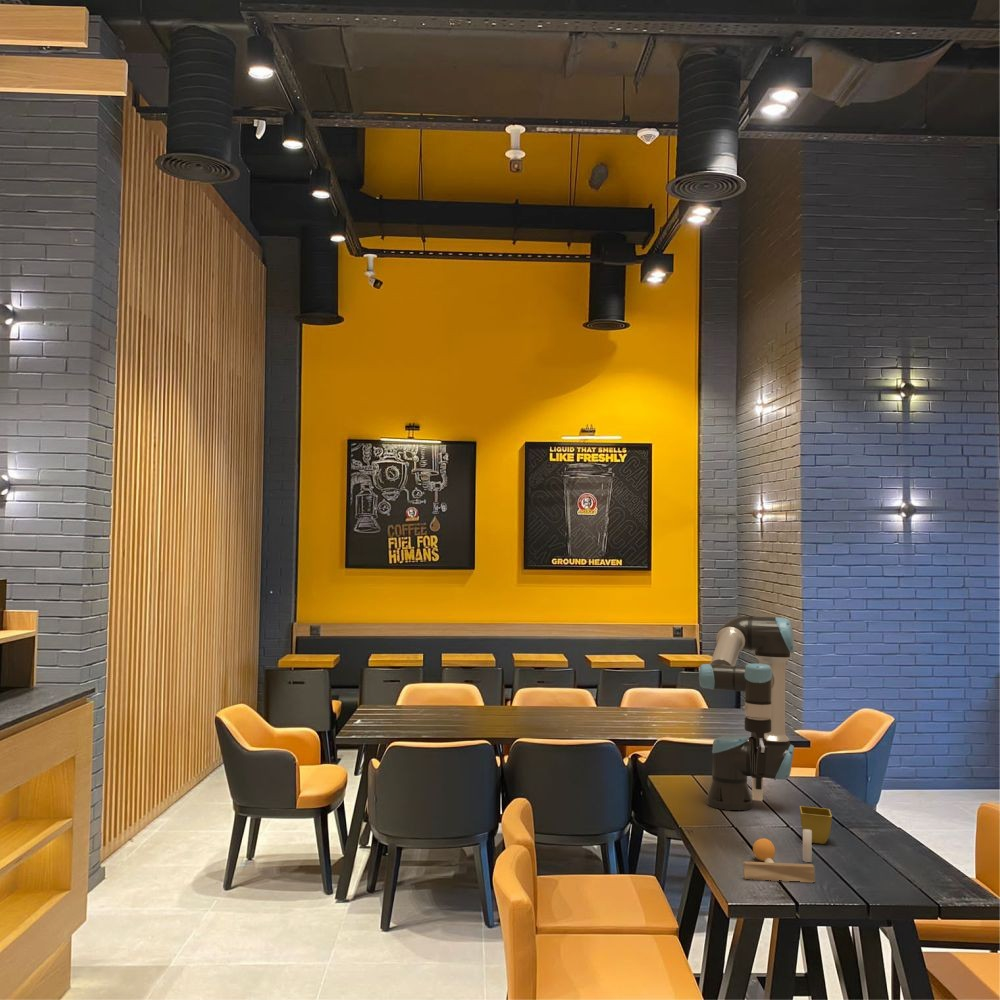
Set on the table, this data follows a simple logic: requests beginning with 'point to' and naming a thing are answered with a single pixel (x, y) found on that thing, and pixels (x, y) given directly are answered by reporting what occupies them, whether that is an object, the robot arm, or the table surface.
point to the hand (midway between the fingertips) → (757, 799)
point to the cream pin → (769, 860)
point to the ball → (763, 849)
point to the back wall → (779, 871)
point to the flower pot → (816, 822)
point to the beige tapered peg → (807, 845)
